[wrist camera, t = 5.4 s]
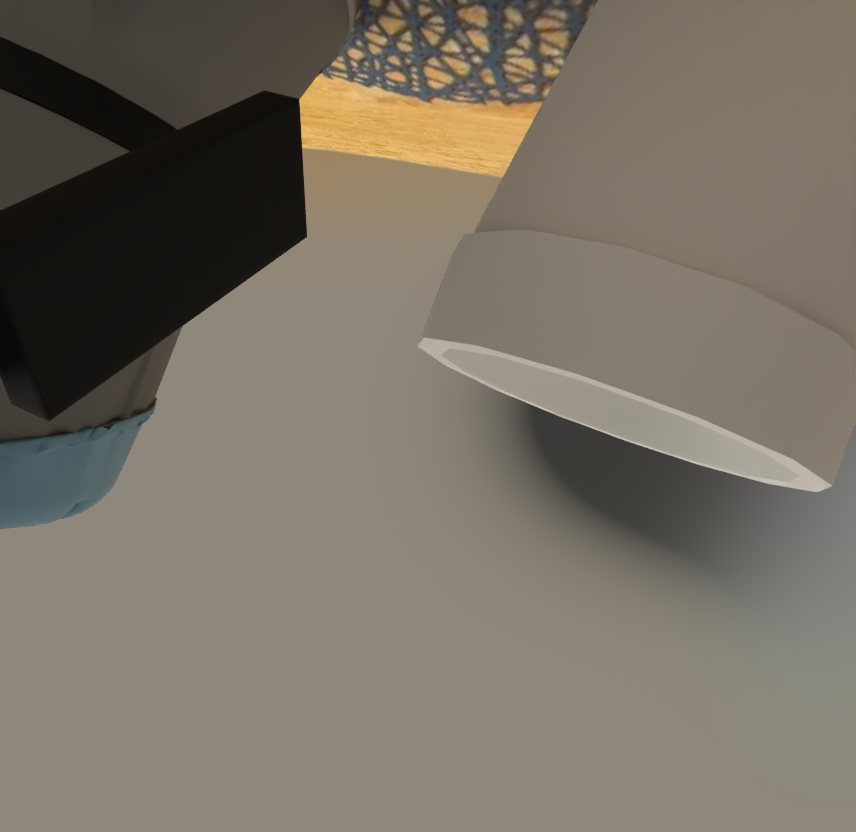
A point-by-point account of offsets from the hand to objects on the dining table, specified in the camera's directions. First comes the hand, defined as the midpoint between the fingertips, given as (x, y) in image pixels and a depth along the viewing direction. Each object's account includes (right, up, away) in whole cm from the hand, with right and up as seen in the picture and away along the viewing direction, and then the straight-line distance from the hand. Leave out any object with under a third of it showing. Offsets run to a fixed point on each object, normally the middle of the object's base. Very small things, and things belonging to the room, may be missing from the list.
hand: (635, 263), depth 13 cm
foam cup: (+5, +10, +5) cm, 12 cm away
